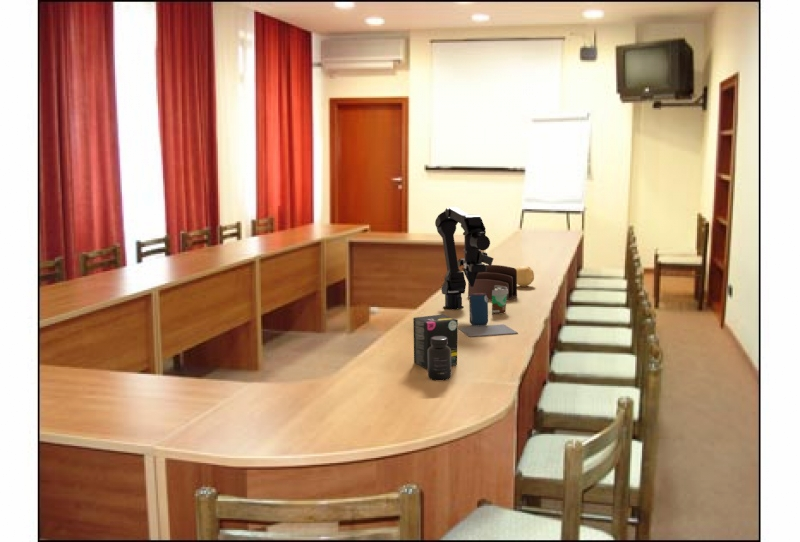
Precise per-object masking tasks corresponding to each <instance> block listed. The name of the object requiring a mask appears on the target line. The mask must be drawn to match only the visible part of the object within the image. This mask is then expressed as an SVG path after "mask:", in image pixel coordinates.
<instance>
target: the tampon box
mask: <svg viewBox="0 0 800 542" xmlns="http://www.w3.org/2000/svg"><path fill="white" fill-rule="evenodd" d="M412 319H413V321H412V322H413V364H416V365H417V366H420V367H422V368H423V369H425V370H427V371H428V348H429V347H430V346H432V345H431V337H433V336H445V337H447V342H448V344H447V346H449V347H450V349H451V367H455V366H456V365H457V366H458V330H459V329H458V323H459V321H458V319H456V318H453V317H451V316H449V315H445V314H435V315H425V316H417V317H413V318H412Z"/></svg>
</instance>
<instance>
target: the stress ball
mask: <svg viewBox="0 0 800 542" xmlns="http://www.w3.org/2000/svg"><path fill="white" fill-rule="evenodd" d="M515 269H516V270H517V286H520V287H522V288H525V287H528V286H529V285H531V284H532V283H533V282H534V279H535V273H534V270H533V269H532V268H531V267H529V266H526V265H520V266H518V267H517V268H515Z"/></svg>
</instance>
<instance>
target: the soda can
mask: <svg viewBox="0 0 800 542" xmlns="http://www.w3.org/2000/svg"><path fill="white" fill-rule="evenodd" d="M468 301H469V302H468V303H469V304H468V306H469V309H468V310H469V323H470V324H471V327H472V326H487V324H488V322H489V303H488V302H489V299H488V297H487V295H486V293H482V292H477V293H471V295H470V297H469V299H468Z"/></svg>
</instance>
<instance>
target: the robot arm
mask: <svg viewBox="0 0 800 542" xmlns="http://www.w3.org/2000/svg"><path fill="white" fill-rule="evenodd" d="M434 223H435V224H434V226H435V227H436V231H437V233H438V234H439V236H441V238H442V243H443V245H442V246H443V250H444V257H445V265H446V273H445V276H444V282H443V284H442V286H441V294H443V295H444V298H445V299H444V302H445V303H444V306H442V309H449V310H452V311H453V310H455V311H456V310H458V309H463V308H464V306H463V297H462V294H463V295H464V294H465V293H466V287H467V283H468V282H469V285H470V287H473V286H474V283H475V279H476V276H477V274H478V273H479V272H486V271H487V266H486V265H490V266H491V265H493V261H494V257H491V256H489V255H488V252H484V251H486V250H488V249H489V247H490V245H491V241H490V238H489V237H488V236H487V235H486V226H485V224H484V222H483V219H482V218H481V215H478V214H469V213H467V212H465V211H463V210H461V209H460V208H459V207H457V206H456V207H454V206H453V207H451V206H450V207H446V208H445V210H444V211H443V212H440V213H439V214H438V215H437V217H436V219H435V222H434ZM458 223H459V224H460V227H461V229H462V230H463V231H464V232H462V235H463V236H464V249H462V253H464V258H459V259H458V256H457V249H456V245H455V244H456V242H455V236H454V235H455V234H456V233H455V232H456V230H457V225H458ZM462 266H463V267H462ZM459 267H462V268H461V269H462V271H461V270H460V269H459Z"/></svg>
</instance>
